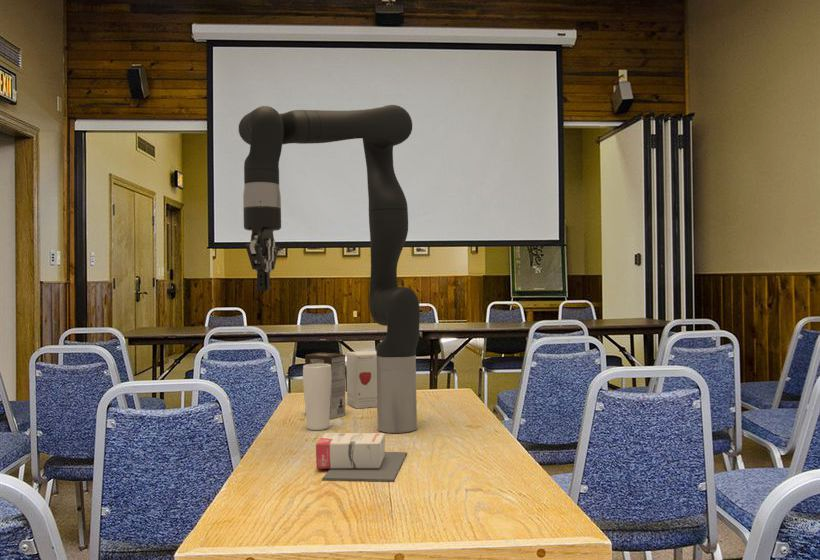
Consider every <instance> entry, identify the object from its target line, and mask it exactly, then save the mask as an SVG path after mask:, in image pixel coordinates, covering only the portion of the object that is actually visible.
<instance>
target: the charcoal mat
mask: <svg viewBox="0 0 820 560" xmlns="http://www.w3.org/2000/svg"><path fill="white" fill-rule="evenodd" d="M407 454H408V452H407V451H385V452H384V458H383V461H382V463H381V465H380V468H336V469H328V471H327V472H326V473H325V474H324V476H323V477H322V479H321V480H322V481H336V482H337V481H344V482H345V481H347V482H387V483H388V482H391V483H392V482H393V483H394V482H395V480H396V479H397V476H398V474H399V472H400V470H401V467H402V466H403V463H404V461H405V459H406V457H407Z"/></svg>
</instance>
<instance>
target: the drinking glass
mask: <svg viewBox="0 0 820 560" xmlns="http://www.w3.org/2000/svg"><path fill="white" fill-rule="evenodd" d="M331 385H332V371H331V365H330V364H307V365H305V364H304V365H303V366H302V386H303V395H304V406H305V407H304V409H305V408H306V415H305V418H306V419H305V420H306V428H307V429H308V430H310V431H323V430H327V429H329V427H330V419H329V414H330V399H331Z"/></svg>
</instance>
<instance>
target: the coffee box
mask: <svg viewBox="0 0 820 560" xmlns="http://www.w3.org/2000/svg"><path fill="white" fill-rule="evenodd" d="M307 364H330V365H331V371H332V385H331V399H330V414H329V420H333V419H334V420H335V419H337V418H340V417H343V416H346V354H343V353H342V354H341V353H330V352H316V353H315V352H314V353H310V354H309V353H308V354H305V355H304V365H307ZM304 409H305V416H306V408H305V407H304Z"/></svg>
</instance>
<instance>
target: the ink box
mask: <svg viewBox="0 0 820 560" xmlns="http://www.w3.org/2000/svg"><path fill="white" fill-rule="evenodd" d="M385 433H386V432H374V433H373V432H325V433H323V435H322V436H321V437H320V438H319V440H318V441H317V442H316V443H315V463H316V464H315V465H316V466H315V467H316V469H317V470H319V469H320V470H322V469H325V470H326V469H328V470H330V469H336V468H380V465H381V463H382V461H383V458H384V452H386V451H385V449H386V448H385V445H386V434H385Z"/></svg>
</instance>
